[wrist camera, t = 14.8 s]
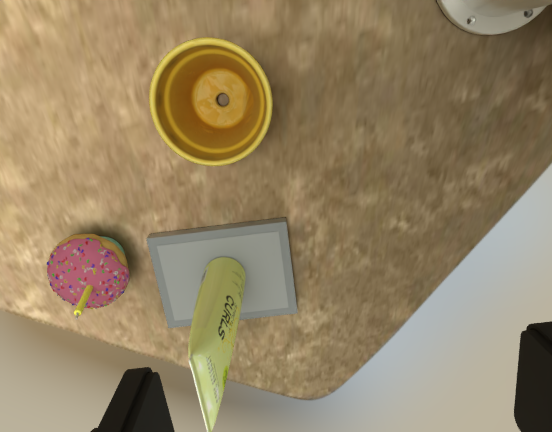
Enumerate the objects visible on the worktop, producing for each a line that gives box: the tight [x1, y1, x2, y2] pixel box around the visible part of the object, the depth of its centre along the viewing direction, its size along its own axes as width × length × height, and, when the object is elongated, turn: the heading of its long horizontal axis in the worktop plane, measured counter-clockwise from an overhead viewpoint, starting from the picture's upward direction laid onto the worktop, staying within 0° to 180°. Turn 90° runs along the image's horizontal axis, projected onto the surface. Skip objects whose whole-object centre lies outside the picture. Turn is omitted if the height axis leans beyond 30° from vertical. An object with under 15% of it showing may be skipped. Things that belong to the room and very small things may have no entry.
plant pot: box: [149, 37, 273, 166], centre depth 38 cm, size 10×10×10 cm
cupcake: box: [47, 234, 130, 320], centre depth 43 cm, size 9×8×12 cm
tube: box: [188, 257, 245, 432], centre depth 39 cm, size 6×5×20 cm
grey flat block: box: [147, 217, 297, 328], centre depth 49 cm, size 16×12×2 cm
